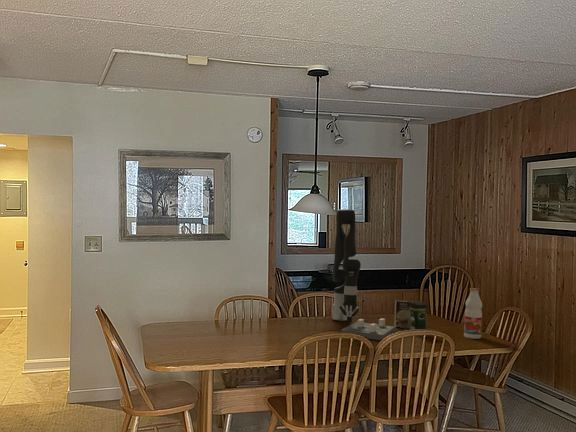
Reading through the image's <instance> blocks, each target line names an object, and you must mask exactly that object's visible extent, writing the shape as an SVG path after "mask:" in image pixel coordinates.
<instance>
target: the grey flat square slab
mask: <svg viewBox="0 0 576 432" xmlns="http://www.w3.org/2000/svg"><path fill="white" fill-rule="evenodd" d="M370 324H371V323H368V322H364V326H363V327H357V321H355V322H354V323H353V322H352V323H350V324H349V325H347V326H346V327H344V328H342V329H341V330H340V331H341V332H350V333H356V334H359V335H362V336H364V337H366V338H365V339H369V340H370V339H371V340H376V341H382V340H381V339H383V338H384V337H385V336H387V335H389V334H391V333H393V332H394V333H396V327H395V326H394V325H385V326H383V327H380V326H379V324H377V323H375V324H376V331H375V332H369V327H370ZM394 333H393V334H394ZM391 335H392V334H391Z"/></svg>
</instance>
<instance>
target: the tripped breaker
mask: <svg viewBox="0 0 576 432" xmlns="http://www.w3.org/2000/svg"><path fill="white" fill-rule="evenodd" d="M356 322H357V327H363V326H364V323H365V318H359V319H357V320H356Z"/></svg>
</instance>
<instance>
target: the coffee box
mask: <svg viewBox="0 0 576 432" xmlns="http://www.w3.org/2000/svg"><path fill="white" fill-rule="evenodd" d="M394 302H395V303H394V321H393V326H394V327H395V328H396V327H400V328H399V329H409V324H410V303H411V302H412V301H410V300H404V299H403V300H401V299H400V300H399V299H395V300H394Z"/></svg>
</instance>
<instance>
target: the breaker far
mask: <svg viewBox="0 0 576 432" xmlns="http://www.w3.org/2000/svg"><path fill="white" fill-rule="evenodd" d="M378 325H379V326H380V327H383V326H386V318H382V317H380V319H378Z"/></svg>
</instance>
